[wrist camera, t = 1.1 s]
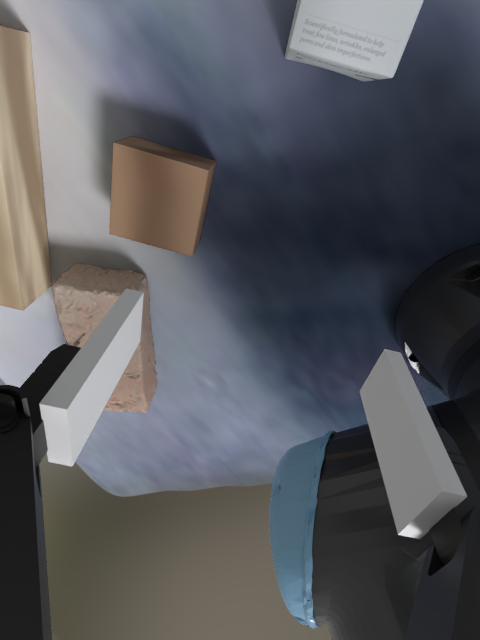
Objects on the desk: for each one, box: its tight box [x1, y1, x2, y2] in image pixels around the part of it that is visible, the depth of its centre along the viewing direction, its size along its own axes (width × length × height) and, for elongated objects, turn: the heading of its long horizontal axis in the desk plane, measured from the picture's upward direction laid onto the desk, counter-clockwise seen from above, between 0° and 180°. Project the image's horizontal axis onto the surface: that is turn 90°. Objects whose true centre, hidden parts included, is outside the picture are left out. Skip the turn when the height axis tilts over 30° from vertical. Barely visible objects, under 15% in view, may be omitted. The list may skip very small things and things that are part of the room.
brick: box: [52, 264, 157, 413], centre depth 38 cm, size 17×8×5 cm, turn 176°
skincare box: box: [285, 0, 424, 82], centre depth 20 cm, size 6×6×7 cm
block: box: [109, 136, 216, 256], centre depth 29 cm, size 7×7×4 cm
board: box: [0, 25, 52, 310], centre depth 29 cm, size 3×21×5 cm, turn 167°
